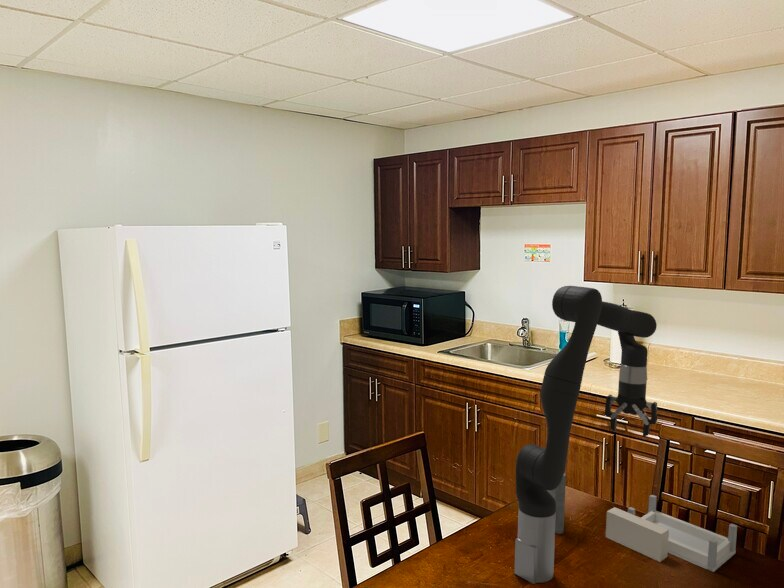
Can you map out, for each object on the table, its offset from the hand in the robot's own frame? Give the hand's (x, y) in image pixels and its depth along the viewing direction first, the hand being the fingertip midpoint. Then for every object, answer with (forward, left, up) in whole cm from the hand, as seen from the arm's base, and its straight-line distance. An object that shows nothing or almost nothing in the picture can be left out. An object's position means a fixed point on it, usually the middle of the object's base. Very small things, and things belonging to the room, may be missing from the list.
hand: (629, 433), depth 175 cm
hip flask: (-16, +15, -28) cm, 36 cm away
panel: (-10, -9, -28) cm, 31 cm away
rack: (+1, -16, -28) cm, 32 cm away
